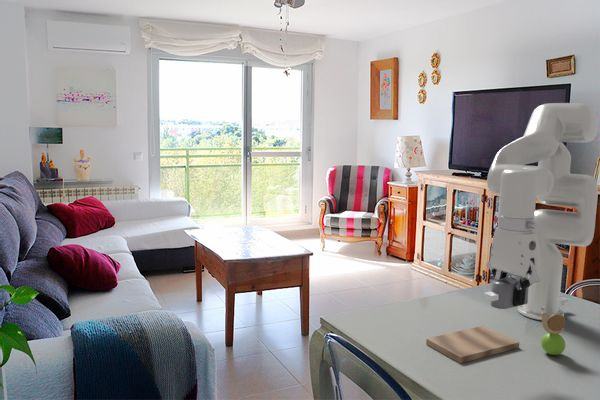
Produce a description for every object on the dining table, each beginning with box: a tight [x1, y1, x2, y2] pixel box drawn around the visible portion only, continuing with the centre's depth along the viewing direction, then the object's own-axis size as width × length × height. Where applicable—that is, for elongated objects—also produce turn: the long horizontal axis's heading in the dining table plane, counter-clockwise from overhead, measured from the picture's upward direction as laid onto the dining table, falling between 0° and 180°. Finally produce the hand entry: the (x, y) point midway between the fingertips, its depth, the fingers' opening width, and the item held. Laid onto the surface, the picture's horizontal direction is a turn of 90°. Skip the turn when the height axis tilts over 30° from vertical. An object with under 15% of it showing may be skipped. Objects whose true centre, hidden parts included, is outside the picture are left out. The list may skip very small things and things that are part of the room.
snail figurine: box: [540, 307, 566, 356], centre depth 129 cm, size 5×6×12 cm
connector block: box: [483, 275, 529, 310], centre depth 119 cm, size 12×4×6 cm, turn 118°
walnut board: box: [425, 325, 520, 364], centre depth 134 cm, size 20×12×2 cm, turn 118°
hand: (510, 301), depth 120 cm, fingers closed on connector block, 4 cm apart
